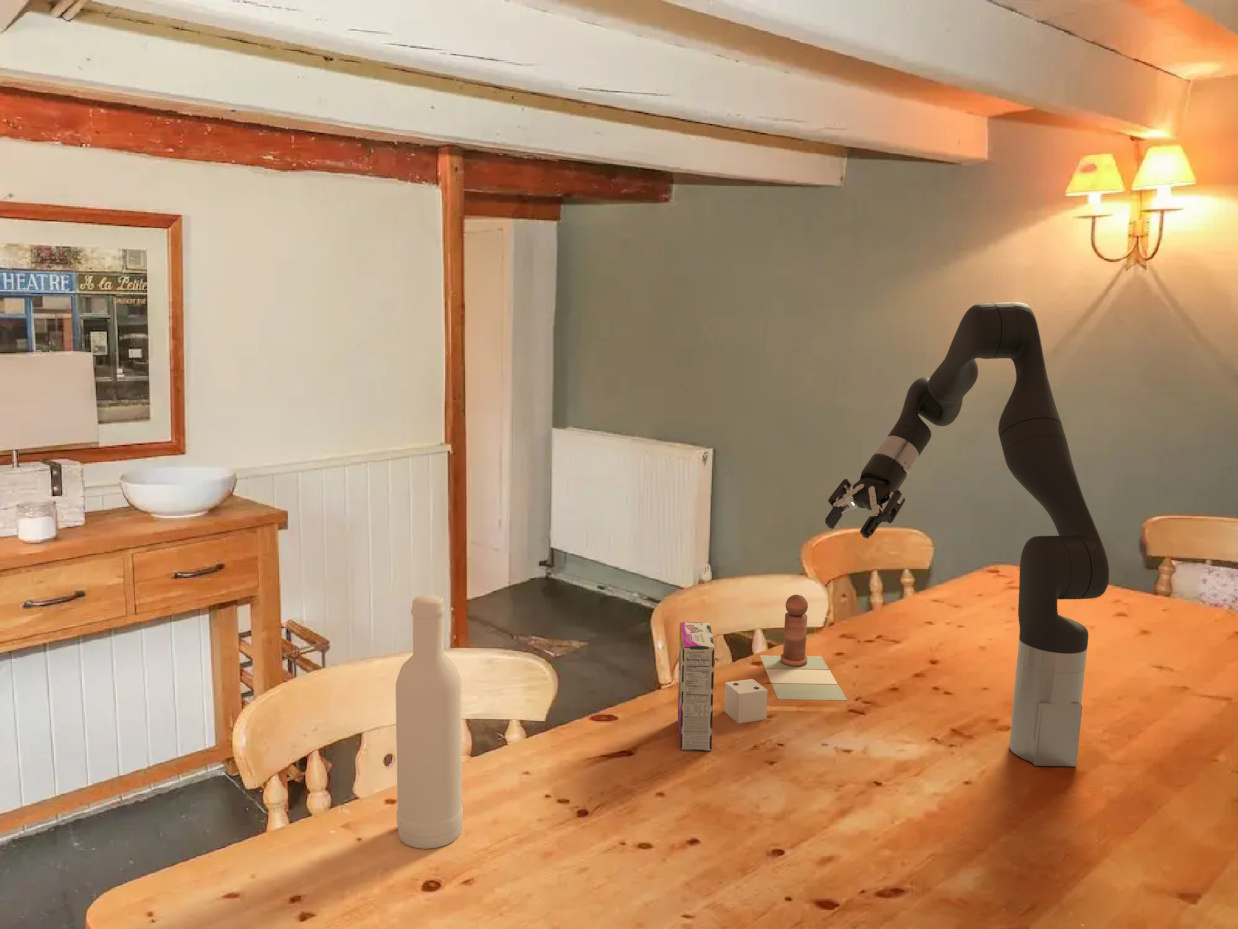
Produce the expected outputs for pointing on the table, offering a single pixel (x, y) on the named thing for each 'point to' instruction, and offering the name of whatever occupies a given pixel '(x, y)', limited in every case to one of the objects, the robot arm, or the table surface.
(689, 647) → the candy bar box
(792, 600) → the pawn
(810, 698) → the board
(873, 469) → the robot arm
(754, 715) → the die
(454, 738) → the bottle
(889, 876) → the table surface
